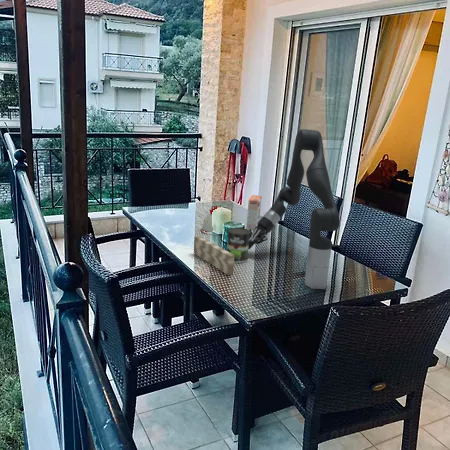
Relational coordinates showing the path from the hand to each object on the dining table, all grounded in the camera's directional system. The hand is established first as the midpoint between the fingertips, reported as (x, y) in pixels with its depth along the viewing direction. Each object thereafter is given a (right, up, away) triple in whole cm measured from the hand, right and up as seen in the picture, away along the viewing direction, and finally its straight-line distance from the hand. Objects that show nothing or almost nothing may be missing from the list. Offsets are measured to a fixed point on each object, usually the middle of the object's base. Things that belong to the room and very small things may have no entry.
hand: (247, 248), depth 219 cm
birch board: (-17, -7, -10) cm, 20 cm away
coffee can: (-5, -5, -2) cm, 7 cm away
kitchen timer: (-17, +7, +40) cm, 44 cm away
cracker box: (+5, +6, +41) cm, 42 cm away
